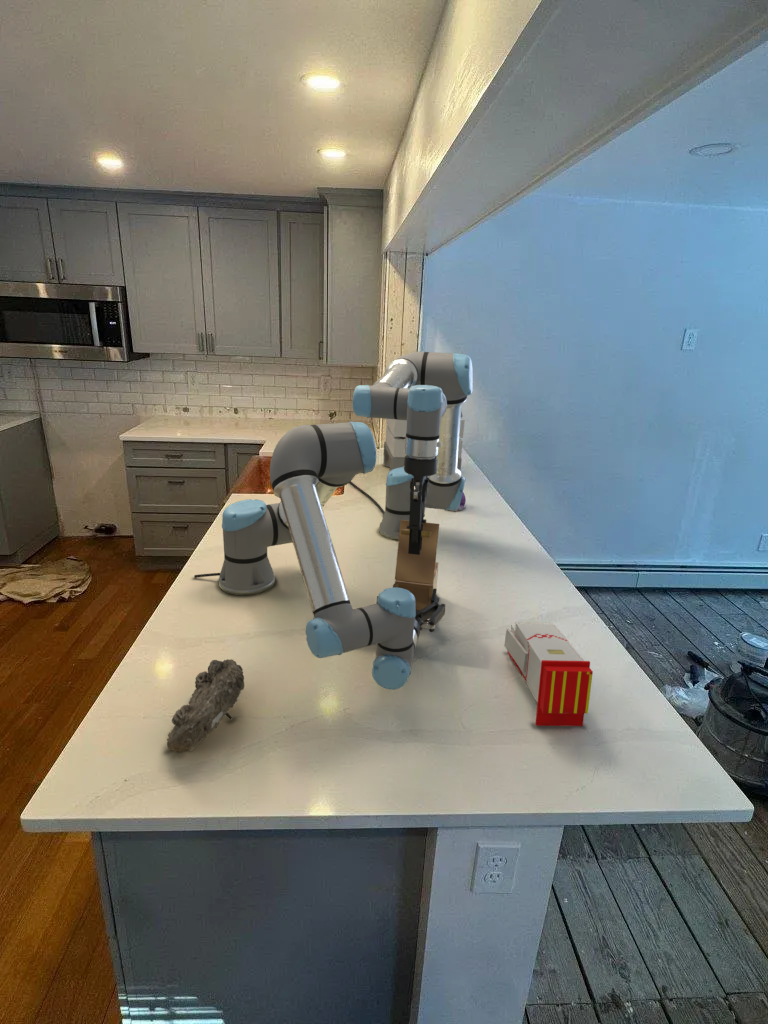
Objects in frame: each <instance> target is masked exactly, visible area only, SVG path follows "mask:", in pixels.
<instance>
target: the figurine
mask: <svg viewBox="0 0 768 1024" xmlns="http://www.w3.org/2000/svg"><path fill="white" fill-rule="evenodd" d="M460 472H461V473H462V470H461V471H460ZM466 503H467V502H466V496H465V492H463V493H462V498H461V502H460V506H459V508H458V509H457V510H450V511H451V512H452V511H453V512H457V511H462V510H463V509H465V505H466Z"/></svg>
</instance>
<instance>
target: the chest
mask: <svg viewBox="0 0 768 1024" xmlns="http://www.w3.org/2000/svg"><path fill="white" fill-rule="evenodd" d="M439 563H440V562H437V561H436V563H435V573H434V583H433V584H427V583H419V582H410V581H402V580H395V579H394V580H395V581H394V584H395V587H397V588H403V589H406V590H408V591H409V592H410V593H412V594H413V595H414V597H415V604H416V611H417V610H422V609H423V608H425V607H427V606H428V605H430V604H431V598H432V595H433V590H434V589H437V588H438V576H439V575H438V574H439ZM428 619H430V617H429V618H428ZM428 619H426V620H425V621H428Z"/></svg>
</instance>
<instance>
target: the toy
mask: <svg viewBox="0 0 768 1024" xmlns="http://www.w3.org/2000/svg"><path fill="white" fill-rule="evenodd" d="M503 645H504V647H505V649H506V650H507V655H508V656H509V658H510V659H511V662H513V664H514V666H515V667H516V669H517V670H518V672H519V673H520V675H521V676H522V679H523V680H524V681H525V683H526V686H527V687H528V689H529V690H530V693H531V694H532V696H533V698H534V700H535V701H536V703H537V704H536V714H535V722H534V723H535V726H537V727H541V726H542V727H583V726H584V719H585V715H586V714H587V715H588V714H589V706H590V705H589V704H590V699H591V691H592V683H593V682H592V681H593V674H594V673H593V672H594V671H593V670H592V669H591V668H590V667H591V661H590V660H584V659H583V658H582V657H581V655H580V654H579V653H578V651H577V650H576V649H575V648H574V647H573V645H572V644H571V643H570V642H569V640H568V639H567V638H566V636H564V633H562V632H561V630H560V629H559V628H558V627H557V625H556V624H555V623H553V622H515V624H511V625H510V628H506V630H505V638H504V644H503Z"/></svg>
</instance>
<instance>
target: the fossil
mask: <svg viewBox="0 0 768 1024" xmlns="http://www.w3.org/2000/svg"><path fill="white" fill-rule="evenodd" d="M243 670H244V669H243V667H242V665H240V664H237V662H236V661H235V660H234V659H232V658H231V659H227V658H226V659H224V660H223V661H222V660H217V659H212V660H211V661H210V663H209V665H208V666H207V671H201V672H199V673H198V674H197V675H196V676H195V680H194V684H195V685H194V687H195V689H194V690H193V693H192V694H191V697H190V698H189V700H188V704H184V705H182V706H181V707H180V709H177V710H176V711H175V713H174V715H173V716H172V718H171V723H172V724H173V727H172V730H171V731H170V732H168V734H167V738H166V741H167V742H166V745H167V749H168V750H169V751H173V752H174V753H176V754H178V753H182V752H188V751H189V752H192V751H193V750H195V748H196V747H197V746H199V744H200V743H201V742H203V741H204V740H205V739H206V738H207V737H208V736H209V735H210V734H211V733H212V732H214V730H215V729H217V727H218V726H219V724H220V722H221V721H222V720H223V719H224V718H225V716H226V717H227V719H229V720H233V717H232V715H230V714H229V710H230V709H231V708H234V706H235V704H236V703H237V702H238V699H239V697H240V695H241V693H242V691H243V690H245V689H244V688H245V675H244V671H243Z"/></svg>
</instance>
